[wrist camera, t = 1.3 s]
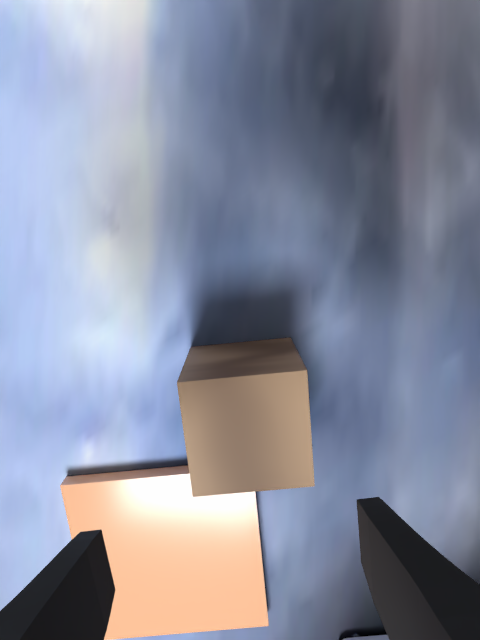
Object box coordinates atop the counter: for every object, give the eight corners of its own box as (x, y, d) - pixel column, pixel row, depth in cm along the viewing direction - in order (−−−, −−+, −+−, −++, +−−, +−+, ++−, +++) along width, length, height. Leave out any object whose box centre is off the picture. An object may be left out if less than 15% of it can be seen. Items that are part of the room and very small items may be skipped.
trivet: (252, 459, 22) (252, 468, 21) (267, 613, 24) (268, 626, 23) (66, 476, 22) (60, 485, 21) (98, 627, 24) (93, 640, 23)
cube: (290, 336, 21) (307, 370, 16) (296, 428, 22) (314, 486, 17) (191, 346, 21) (177, 382, 16) (202, 437, 22) (192, 497, 17)
